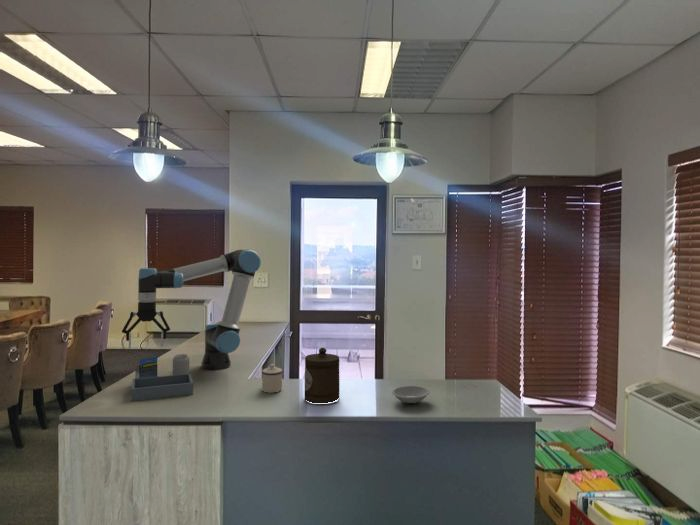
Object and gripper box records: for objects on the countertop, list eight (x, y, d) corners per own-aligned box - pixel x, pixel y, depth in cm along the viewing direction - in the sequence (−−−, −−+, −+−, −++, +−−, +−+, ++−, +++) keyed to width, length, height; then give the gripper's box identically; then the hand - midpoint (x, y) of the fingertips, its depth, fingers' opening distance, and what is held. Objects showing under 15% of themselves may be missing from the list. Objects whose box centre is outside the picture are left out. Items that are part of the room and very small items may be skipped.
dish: (410, 394, 194) (410, 383, 193) (437, 402, 183) (437, 391, 183) (383, 403, 181) (384, 391, 181) (411, 413, 171) (411, 400, 171)
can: (183, 382, 205) (183, 357, 204) (169, 381, 206) (169, 356, 206) (192, 378, 212) (192, 354, 212) (178, 377, 213) (178, 353, 213)
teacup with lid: (286, 390, 196) (286, 364, 196) (269, 395, 189) (269, 368, 189) (270, 384, 204) (271, 360, 204) (254, 388, 198) (254, 363, 198)
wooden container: (306, 393, 192) (307, 344, 192) (340, 394, 192) (341, 344, 192) (302, 405, 178) (302, 351, 177) (338, 406, 177) (339, 352, 177)
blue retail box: (153, 380, 208) (153, 354, 207) (157, 382, 205) (158, 356, 205) (134, 384, 200) (135, 358, 200) (139, 386, 198) (139, 359, 198)
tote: (190, 384, 203) (190, 373, 203) (193, 394, 188) (193, 383, 188) (132, 390, 193) (132, 378, 193) (131, 401, 178) (131, 389, 178)
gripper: (116, 302, 193) (115, 350, 194) (176, 301, 204) (175, 346, 204) (117, 301, 200) (116, 346, 201) (175, 300, 211) (174, 343, 211)
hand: (146, 346), depth 202 cm, fingers open, 13 cm apart
